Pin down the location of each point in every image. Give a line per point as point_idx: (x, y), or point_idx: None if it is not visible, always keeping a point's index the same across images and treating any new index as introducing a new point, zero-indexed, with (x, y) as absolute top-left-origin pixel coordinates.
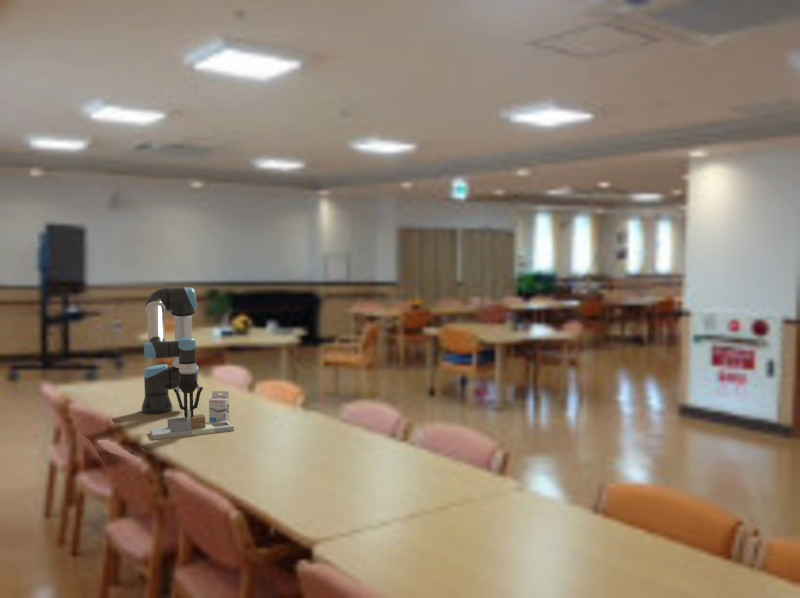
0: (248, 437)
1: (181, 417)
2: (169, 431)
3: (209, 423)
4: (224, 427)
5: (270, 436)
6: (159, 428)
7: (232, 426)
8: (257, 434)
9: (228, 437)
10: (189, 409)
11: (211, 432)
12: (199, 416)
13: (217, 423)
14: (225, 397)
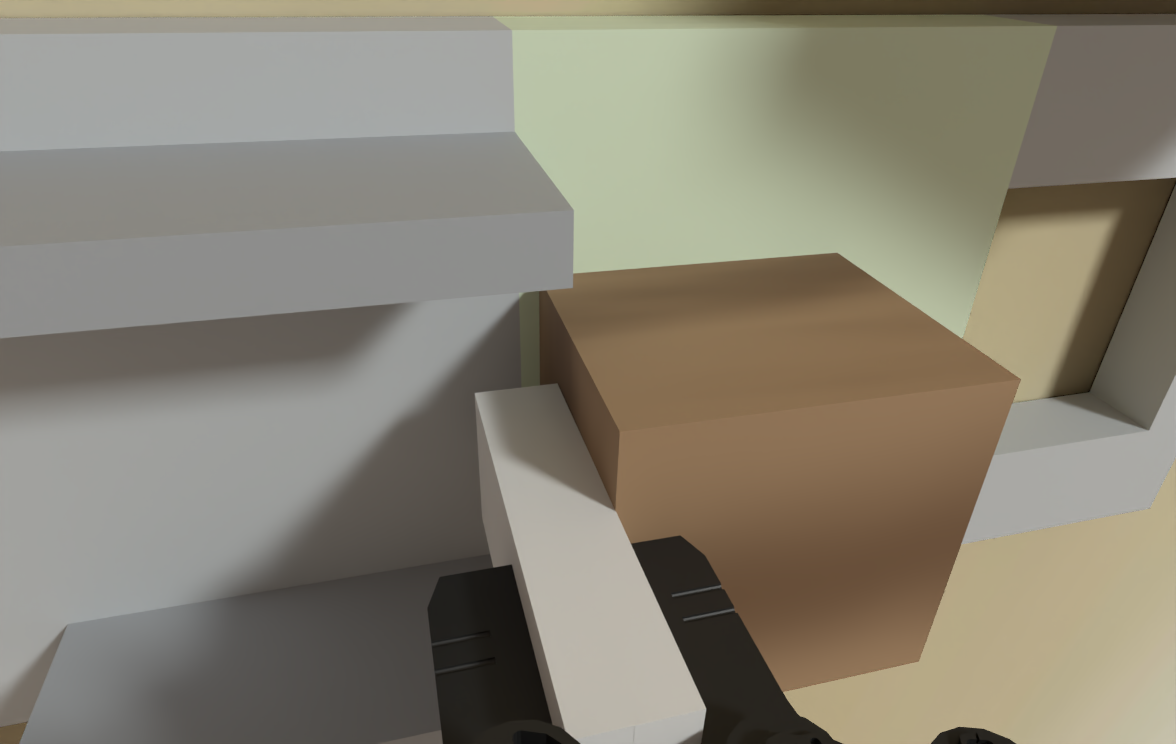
0: (1028, 740)
1: (319, 251)
2: (38, 594)
3: (992, 162)
4: (1026, 530)
5: (1172, 733)
6: None
7: (1131, 511)
8: (1150, 665)
9: (885, 721)
10: (688, 722)
11: None
12: (831, 603)
13: (1116, 176)
14: None
